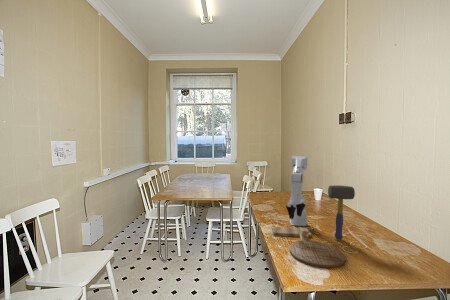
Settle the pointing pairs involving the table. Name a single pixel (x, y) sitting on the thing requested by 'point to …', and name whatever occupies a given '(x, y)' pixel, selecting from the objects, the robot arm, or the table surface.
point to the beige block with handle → (303, 233)
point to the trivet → (317, 254)
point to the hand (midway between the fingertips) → (295, 217)
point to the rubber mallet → (340, 204)
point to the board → (287, 232)
